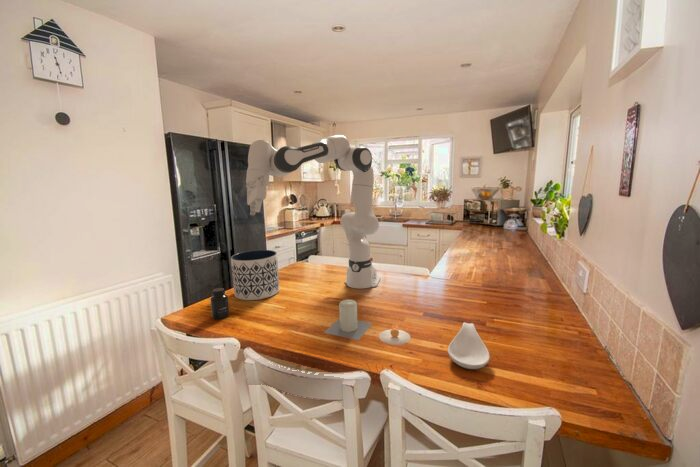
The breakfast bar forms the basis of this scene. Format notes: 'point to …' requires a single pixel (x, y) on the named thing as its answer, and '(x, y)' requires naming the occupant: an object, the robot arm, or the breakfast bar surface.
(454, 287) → the breakfast bar surface
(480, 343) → the spoon rest
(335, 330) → the felt mat
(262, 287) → the planter
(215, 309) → the supplement bottle
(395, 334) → the ball
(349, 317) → the grey rounded cylinder
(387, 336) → the coaster
